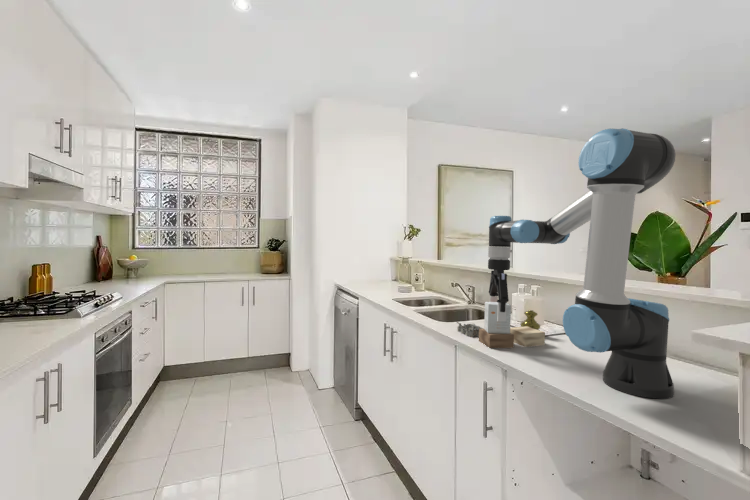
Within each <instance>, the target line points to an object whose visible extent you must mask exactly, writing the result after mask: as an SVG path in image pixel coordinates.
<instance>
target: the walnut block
mask: <svg viewBox="0 0 750 500" xmlns="http://www.w3.org/2000/svg"><path fill="white" fill-rule="evenodd" d="M478 342H480V343H481V344H482V343H483V345H484V344H485V345H486V346H485V345H484V346H485V347H487V348H488V347H489V348H488V349H514V348H515V347H514V346H515V343H514V335H513V334H511V333H510V334H499V333H487V331H486V330H485V329H484V328H483V329H479V336H478Z"/></svg>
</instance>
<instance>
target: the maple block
mask: <svg viewBox="0 0 750 500" xmlns="http://www.w3.org/2000/svg"><path fill="white" fill-rule="evenodd" d="M510 333H511V334H513V335H514V344H516V345H519V346H522V347H524V348H528V347H530V348H531V347H538V346H545V343H546V332H545V331H542V330H540V329H539V330H537V329H533V328H530V327H527V326H525V327H521V326H516V327H510Z"/></svg>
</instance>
